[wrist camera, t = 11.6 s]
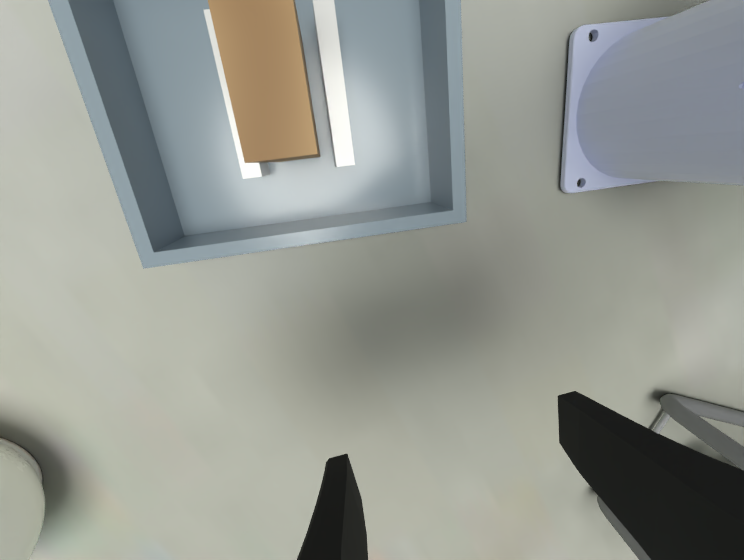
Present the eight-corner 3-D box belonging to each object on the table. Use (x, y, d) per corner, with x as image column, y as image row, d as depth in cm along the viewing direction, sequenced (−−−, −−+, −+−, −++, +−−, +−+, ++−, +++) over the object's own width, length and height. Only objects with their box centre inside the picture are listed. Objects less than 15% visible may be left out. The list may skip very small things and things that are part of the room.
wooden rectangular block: (301, 38, 16) (280, -76, 8) (320, 157, 17) (317, 153, 10) (256, 43, 15) (191, -70, 8) (279, 161, 17) (244, 163, 10)
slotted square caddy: (424, -62, 15) (457, -133, 12) (439, 210, 19) (466, 222, 16) (92, -38, 14) (9, -108, 11) (180, 246, 18) (143, 268, 15)
